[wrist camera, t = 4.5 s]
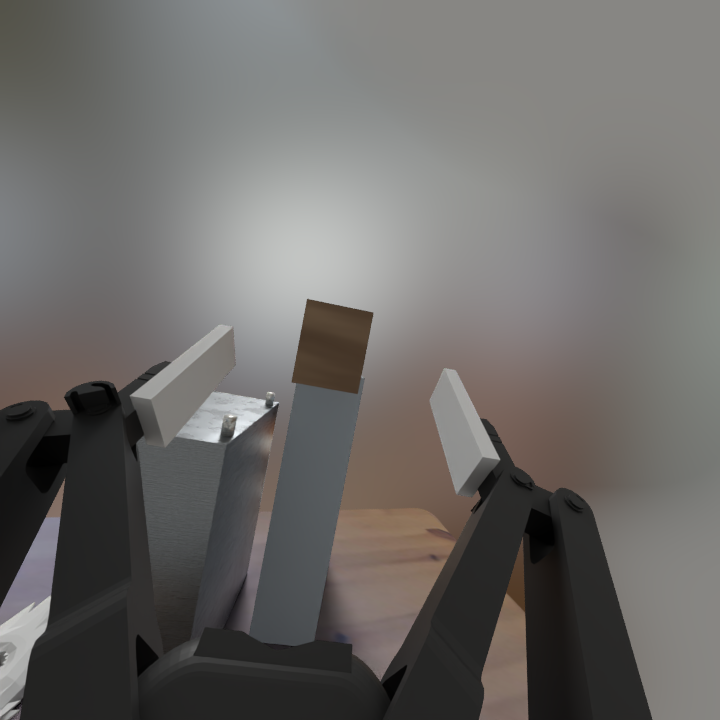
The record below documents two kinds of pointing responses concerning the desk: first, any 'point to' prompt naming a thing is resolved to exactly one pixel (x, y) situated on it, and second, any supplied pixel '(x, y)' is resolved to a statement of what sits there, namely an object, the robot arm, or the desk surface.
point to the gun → (18, 653)
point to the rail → (332, 347)
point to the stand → (304, 515)
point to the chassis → (205, 511)
